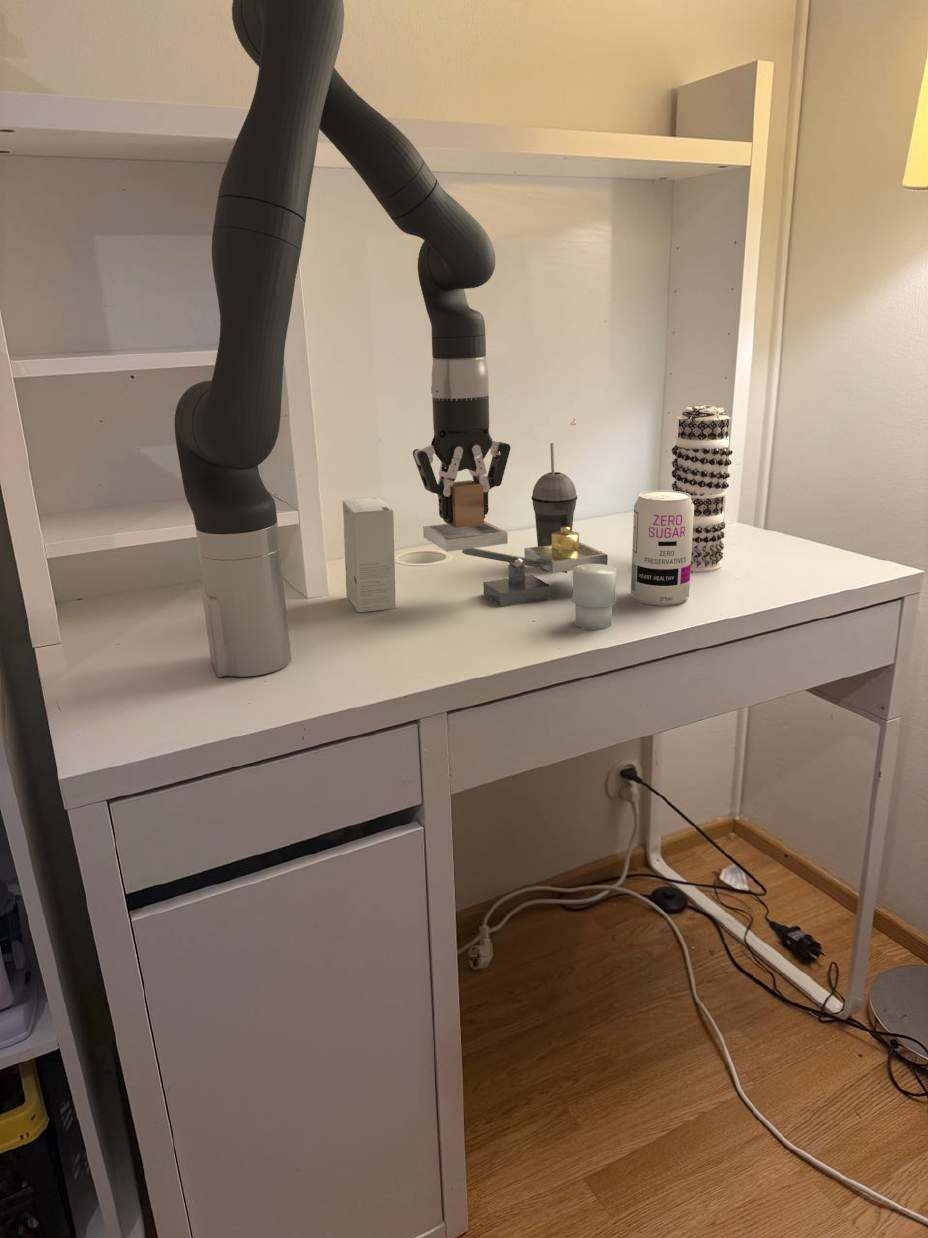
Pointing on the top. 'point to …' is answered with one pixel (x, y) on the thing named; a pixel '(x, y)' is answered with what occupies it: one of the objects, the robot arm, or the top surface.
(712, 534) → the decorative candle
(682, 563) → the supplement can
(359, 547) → the skincare box
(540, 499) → the beverage cup
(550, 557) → the balance
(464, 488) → the walnut block
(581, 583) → the white stepped cylinder
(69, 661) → the top surface
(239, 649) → the robot arm
